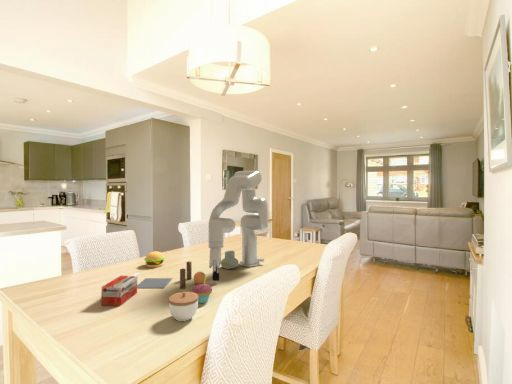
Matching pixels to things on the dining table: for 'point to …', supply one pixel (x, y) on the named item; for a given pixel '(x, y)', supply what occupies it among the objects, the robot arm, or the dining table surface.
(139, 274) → the stopper wall
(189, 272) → the post
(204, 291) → the cupcake
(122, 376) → the dining table surface
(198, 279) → the ball
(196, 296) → the lidded jar
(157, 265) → the hamburger
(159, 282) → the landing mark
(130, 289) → the medicine box
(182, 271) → the post
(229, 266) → the air freshener
